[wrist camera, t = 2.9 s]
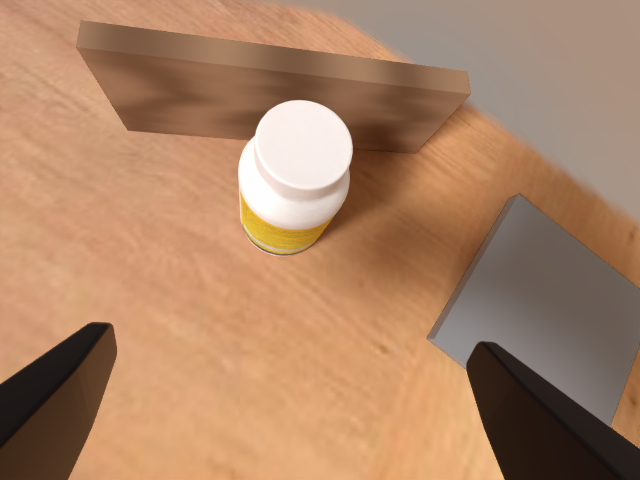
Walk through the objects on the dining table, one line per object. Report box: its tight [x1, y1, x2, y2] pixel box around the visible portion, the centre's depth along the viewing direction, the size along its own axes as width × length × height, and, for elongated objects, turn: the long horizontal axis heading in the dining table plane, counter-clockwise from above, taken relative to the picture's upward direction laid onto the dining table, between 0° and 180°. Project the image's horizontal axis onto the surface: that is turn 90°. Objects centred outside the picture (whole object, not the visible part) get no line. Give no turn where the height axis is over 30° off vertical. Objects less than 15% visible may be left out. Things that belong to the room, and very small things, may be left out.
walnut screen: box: [76, 20, 471, 154], centre depth 21 cm, size 20×2×7 cm, turn 91°
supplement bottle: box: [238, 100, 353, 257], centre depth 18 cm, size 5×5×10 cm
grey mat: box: [426, 194, 640, 427], centre depth 24 cm, size 13×13×1 cm
